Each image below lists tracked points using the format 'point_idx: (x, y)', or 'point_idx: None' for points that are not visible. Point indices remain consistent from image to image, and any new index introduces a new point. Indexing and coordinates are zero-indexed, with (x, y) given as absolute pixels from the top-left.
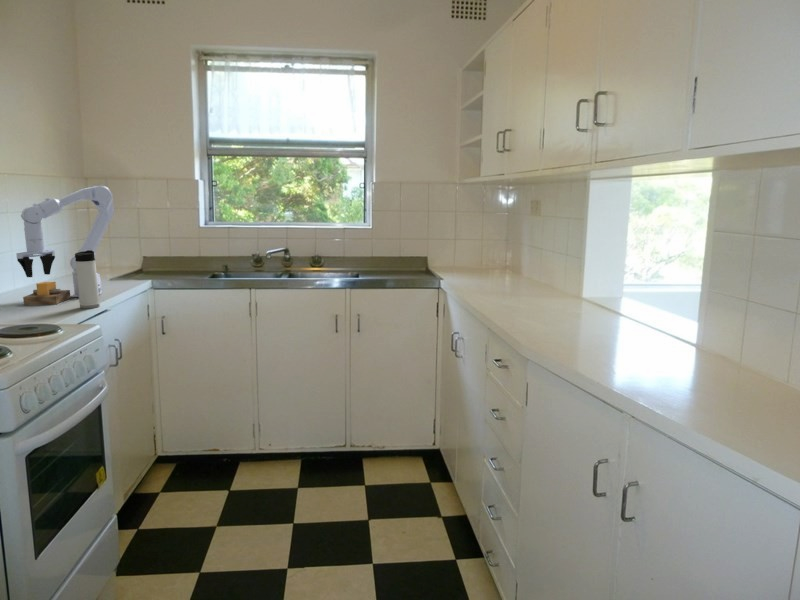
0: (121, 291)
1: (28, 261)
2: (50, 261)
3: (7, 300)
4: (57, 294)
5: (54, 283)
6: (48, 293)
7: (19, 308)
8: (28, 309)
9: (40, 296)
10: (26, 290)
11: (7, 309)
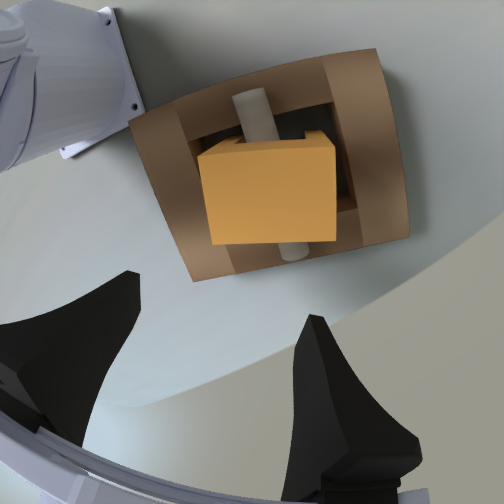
0: None
1: (409, 436)
2: (55, 333)
3: (266, 354)
4: (308, 74)
5: (217, 151)
6: (318, 135)
7: (463, 191)
8: (485, 134)
9: (392, 144)
10: None
11: (475, 230)
